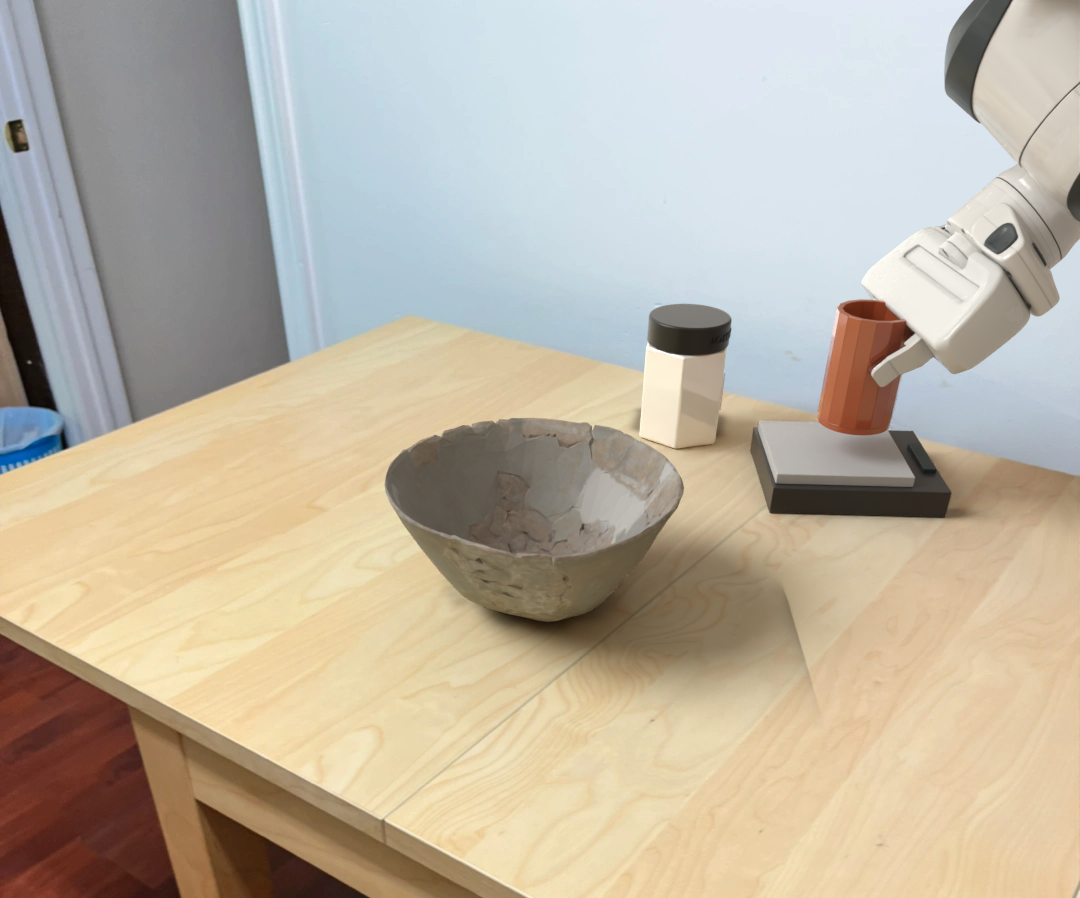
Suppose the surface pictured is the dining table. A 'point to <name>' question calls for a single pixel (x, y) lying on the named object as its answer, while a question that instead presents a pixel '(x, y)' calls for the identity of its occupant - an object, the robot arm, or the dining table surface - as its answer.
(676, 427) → the jar
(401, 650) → the dining table surface
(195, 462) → the dining table surface
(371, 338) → the dining table surface
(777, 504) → the kitchen scale
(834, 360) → the cup
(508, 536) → the ceramic bowl
